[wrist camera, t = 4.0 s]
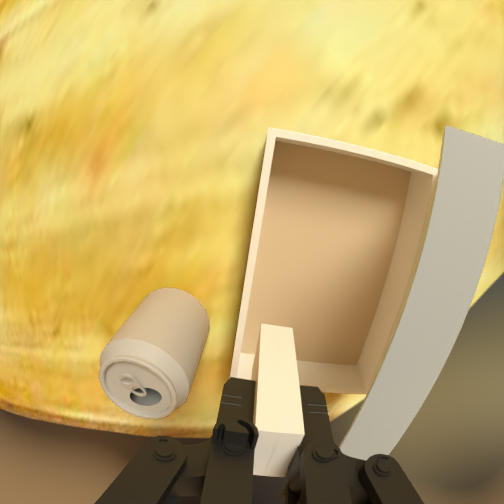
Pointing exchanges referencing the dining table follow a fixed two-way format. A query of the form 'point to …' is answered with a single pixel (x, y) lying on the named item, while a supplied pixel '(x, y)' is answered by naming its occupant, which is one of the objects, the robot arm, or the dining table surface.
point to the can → (155, 354)
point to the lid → (434, 291)
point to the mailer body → (332, 255)
